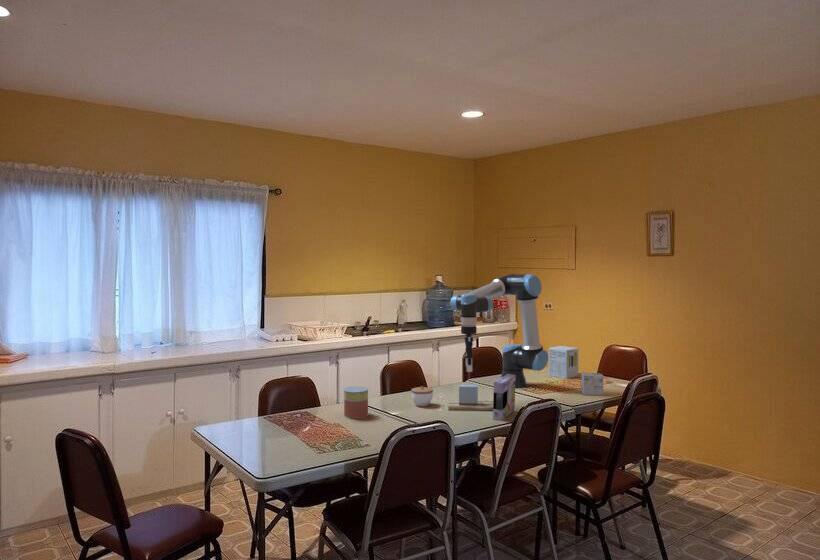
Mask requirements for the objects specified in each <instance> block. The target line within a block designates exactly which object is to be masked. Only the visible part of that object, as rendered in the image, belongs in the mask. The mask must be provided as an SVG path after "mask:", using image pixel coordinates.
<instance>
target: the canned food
mask: <svg viewBox="0 0 820 560" xmlns="http://www.w3.org/2000/svg"><path fill="white" fill-rule="evenodd" d="M343 404H344V405H343V416H344V417H345V418H347V419H348V418H349V419H362V418H366V417H368V416H369V389H368V388H367V387H364V386H351V387H349V386H348V387H345V388H344V389H343Z"/></svg>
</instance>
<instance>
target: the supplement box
mask: <svg viewBox="0 0 820 560" xmlns="http://www.w3.org/2000/svg"><path fill="white" fill-rule="evenodd" d="M548 376H549V377H554V378H560V379H565V378H566V379H571V377H572V378H575V376H576V377H579V348H578V347H574V346H573V347H572V346H565V345H558V346H557V345H556V346H553V347H549V348H548ZM566 379H565V380H566Z"/></svg>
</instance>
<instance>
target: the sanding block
mask: <svg viewBox="0 0 820 560" xmlns="http://www.w3.org/2000/svg"><path fill="white" fill-rule="evenodd" d="M478 389H479V387H478V384H458V401H459V405H478V401H479V400H478V399H479V398H478V397H479V395H478V393H479V390H478Z"/></svg>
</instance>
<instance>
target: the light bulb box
mask: <svg viewBox="0 0 820 560" xmlns="http://www.w3.org/2000/svg"><path fill="white" fill-rule="evenodd" d="M604 388H605V387H604V375H603V374H602V373H599V372H598V373H597V372H596V373H593V372H591V373H589V372H586V373H585V372H581V394H582V393H583V394H582V395H583V396H604V395H605V394H604V393H605V392H604Z"/></svg>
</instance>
